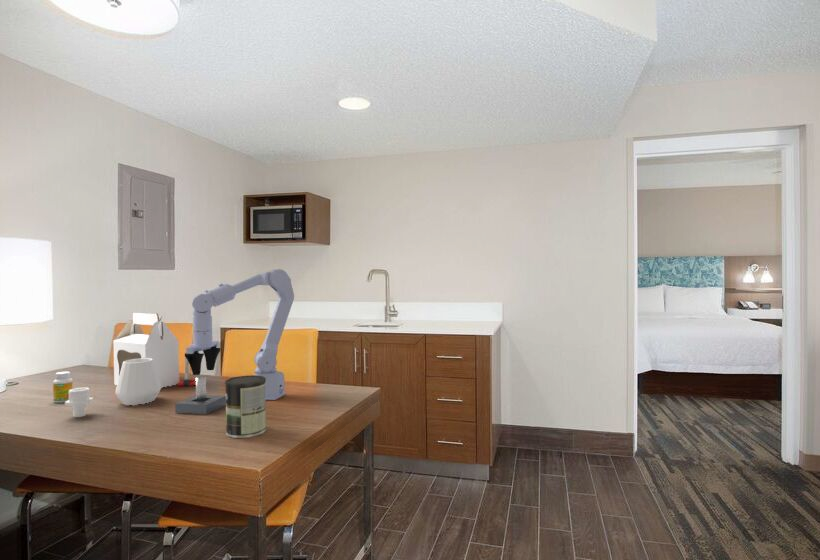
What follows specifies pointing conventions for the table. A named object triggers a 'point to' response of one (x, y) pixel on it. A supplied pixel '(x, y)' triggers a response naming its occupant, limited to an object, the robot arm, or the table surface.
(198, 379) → the pin
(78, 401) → the pipe fitting
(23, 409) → the table surface
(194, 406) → the clevis block
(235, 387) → the coffee can
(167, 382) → the gable box
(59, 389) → the supplement bottle
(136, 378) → the cup
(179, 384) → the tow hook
